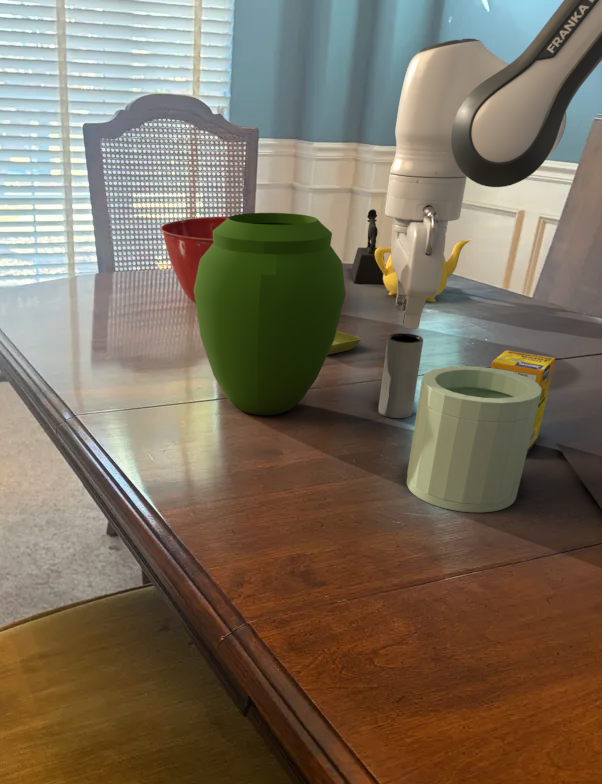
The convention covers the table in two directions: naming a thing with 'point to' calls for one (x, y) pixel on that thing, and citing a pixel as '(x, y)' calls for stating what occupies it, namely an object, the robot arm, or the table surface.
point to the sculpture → (368, 258)
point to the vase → (268, 307)
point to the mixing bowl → (189, 247)
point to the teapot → (391, 276)
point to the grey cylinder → (400, 375)
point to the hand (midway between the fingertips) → (406, 318)
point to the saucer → (343, 342)
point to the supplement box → (534, 370)
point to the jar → (471, 437)
